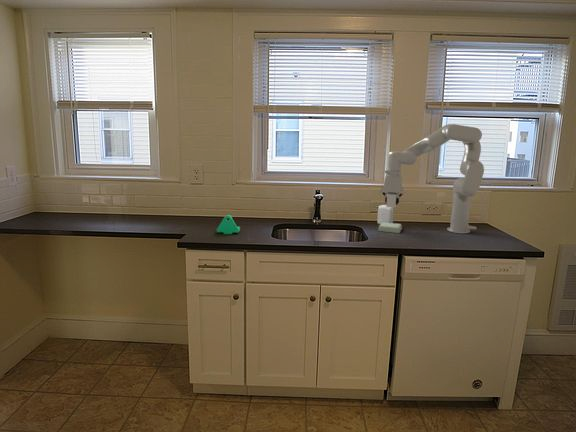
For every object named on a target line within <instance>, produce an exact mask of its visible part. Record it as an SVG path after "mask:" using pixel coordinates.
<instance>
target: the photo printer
mask: <svg viewBox="0 0 576 432" xmlns="http://www.w3.org/2000/svg"><path fill="white" fill-rule="evenodd" d="M382 222H384V223H394V208H393V207H386V204H381V205H378V208H377V224H378V225H381V223H382Z"/></svg>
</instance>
